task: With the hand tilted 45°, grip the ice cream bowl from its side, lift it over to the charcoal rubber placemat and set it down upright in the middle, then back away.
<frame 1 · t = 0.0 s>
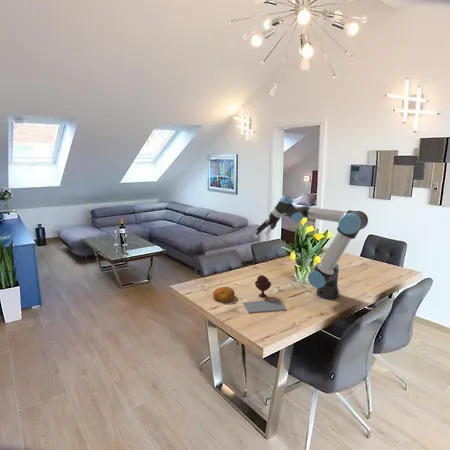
hand: (260, 235, 244), 36 cm above the table, tool tilted 35°, fingers open, 13 cm apart
ice cream bowl: (262, 296, 227), on the table
placemat: (264, 306, 211), on the table
orange-brown rounded lump: (223, 298, 224), on the table
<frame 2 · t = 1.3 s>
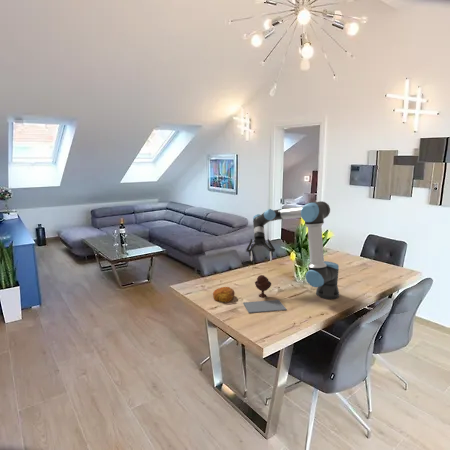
hand: (261, 260, 233), 22 cm above the table, tool tilted 45°, fingers open, 13 cm apart
nothing on the table moved.
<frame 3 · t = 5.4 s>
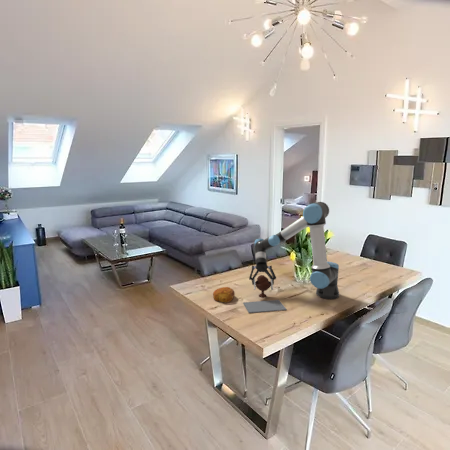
hand: (263, 289, 223), 6 cm above the table, tool tilted 45°, fingers closed on ice cream bowl, 11 cm apart
ice cream bowl: (262, 296, 227), on the table, touching gripper
everything else where it was.
when the fingers open (8 cm above the table, at t = 12.7 s): ice cream bowl drops 1 cm, resting on placemat.
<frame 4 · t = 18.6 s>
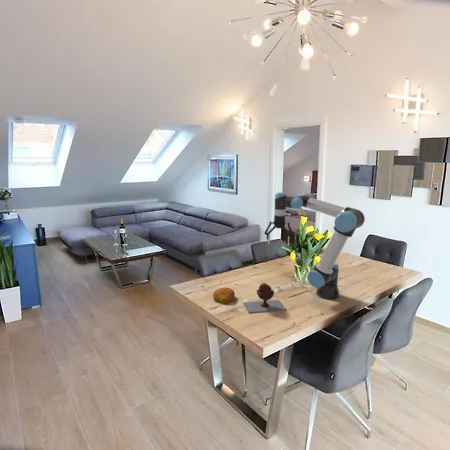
hand: (278, 244, 236), 32 cm above the table, tool pointing down, fingers open, 13 cm apart
ice cream bowl: (264, 306, 211), resting on placemat
at the end: ice cream bowl inside the target area on the placemat (0.4 cm from its centre), point 0.4 cm above the placemat's base; ice cream bowl tilted 0°; the gripper is holding nothing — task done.
